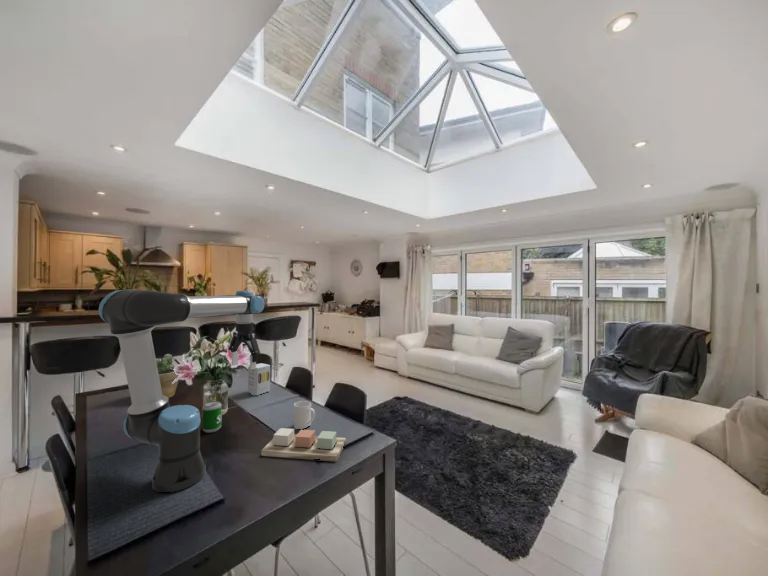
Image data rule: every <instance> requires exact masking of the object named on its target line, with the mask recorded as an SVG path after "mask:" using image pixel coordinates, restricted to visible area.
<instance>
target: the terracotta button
mask: <svg viewBox="0 0 768 576" xmlns="http://www.w3.org/2000/svg"><path fill="white" fill-rule="evenodd" d="M298 431H299V432H298V433H297V434H296V436H295V447H298V448H307V449H311V447H312V446H313V445H312V444H313V442H314V441H315V436H316V430H315V429H304V430H302V429H301V430H298Z"/></svg>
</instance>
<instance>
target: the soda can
mask: <svg viewBox="0 0 768 576" xmlns="http://www.w3.org/2000/svg"><path fill="white" fill-rule="evenodd" d="M222 406H223V405H222V403H221V402H220V401H217V400H213V401H208V402H206V403H205V404H204V405H203V406H202V431H203V432H205V433H206V434H207V433H208V434H210V433H215V432H218V431H219V430H220V429H221V428H222Z"/></svg>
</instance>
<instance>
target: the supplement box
mask: <svg viewBox="0 0 768 576" xmlns="http://www.w3.org/2000/svg"><path fill="white" fill-rule="evenodd" d="M247 368H248V370H247V374H248V375H247V393H248V392H250V393H253V394H256V395H258V394H261V393H263V392H266V391H269V390H270V391H271V365H270V364H267V363H262V362H261V363H256V369H252V370H250V367H247Z"/></svg>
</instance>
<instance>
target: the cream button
mask: <svg viewBox="0 0 768 576" xmlns="http://www.w3.org/2000/svg"><path fill="white" fill-rule="evenodd" d="M294 434H295V428H288V427H287V428H285V427H283V428H282V427H280V428H278V430H277V431H275V433H274V434H273V438H274V445H278V446H280V447H289V446H290V445H291V442H292V441H293V439H294Z"/></svg>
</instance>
